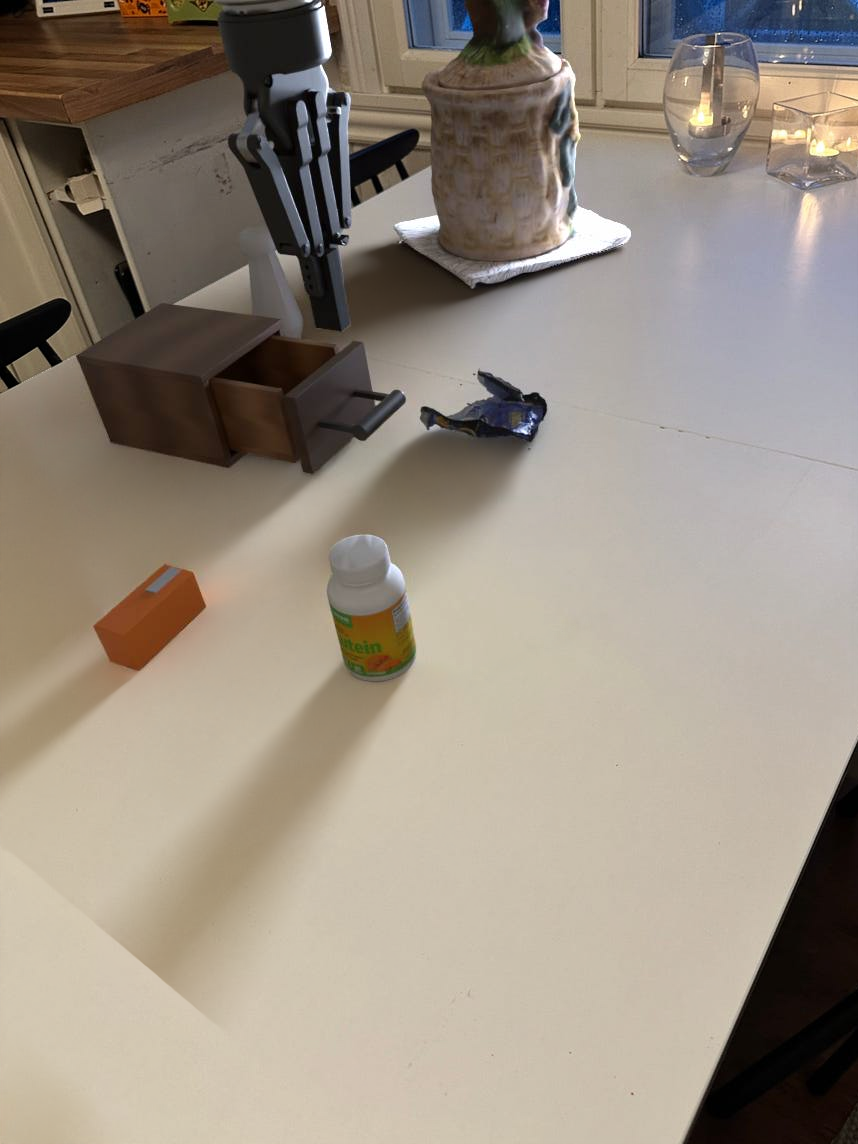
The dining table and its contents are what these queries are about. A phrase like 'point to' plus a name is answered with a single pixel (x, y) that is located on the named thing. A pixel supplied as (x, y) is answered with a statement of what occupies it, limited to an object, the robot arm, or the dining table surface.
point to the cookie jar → (505, 154)
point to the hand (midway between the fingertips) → (333, 326)
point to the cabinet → (170, 378)
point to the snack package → (494, 412)
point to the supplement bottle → (370, 609)
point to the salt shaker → (269, 281)
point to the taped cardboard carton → (150, 617)
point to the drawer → (299, 400)
